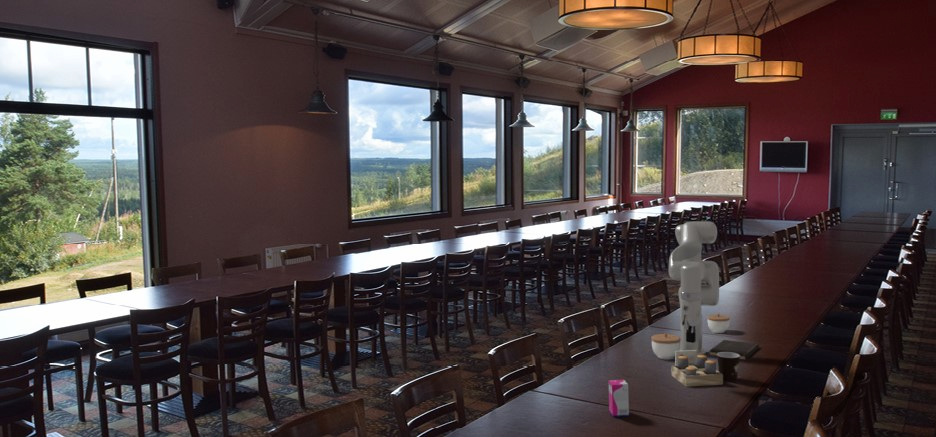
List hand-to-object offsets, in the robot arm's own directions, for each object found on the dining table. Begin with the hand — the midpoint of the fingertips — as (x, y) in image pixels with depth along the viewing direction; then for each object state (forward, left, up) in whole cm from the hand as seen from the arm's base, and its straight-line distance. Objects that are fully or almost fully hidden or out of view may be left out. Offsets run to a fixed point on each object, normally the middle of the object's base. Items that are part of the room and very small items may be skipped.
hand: (690, 341), depth 273 cm
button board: (-4, +4, -17) cm, 18 cm away
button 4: (0, +8, -13) cm, 16 cm away
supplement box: (+28, -38, -17) cm, 50 cm away
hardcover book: (-41, +38, -18) cm, 58 cm away
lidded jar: (-77, +47, -17) cm, 92 cm away
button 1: (-8, 0, -13) cm, 15 cm away
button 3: (-8, +8, -13) cm, 17 cm away
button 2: (0, 0, -16) cm, 16 cm away
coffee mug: (-2, +18, -17) cm, 25 cm away
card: (-14, +4, -17) cm, 22 cm away
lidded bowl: (-37, +4, -17) cm, 41 cm away
